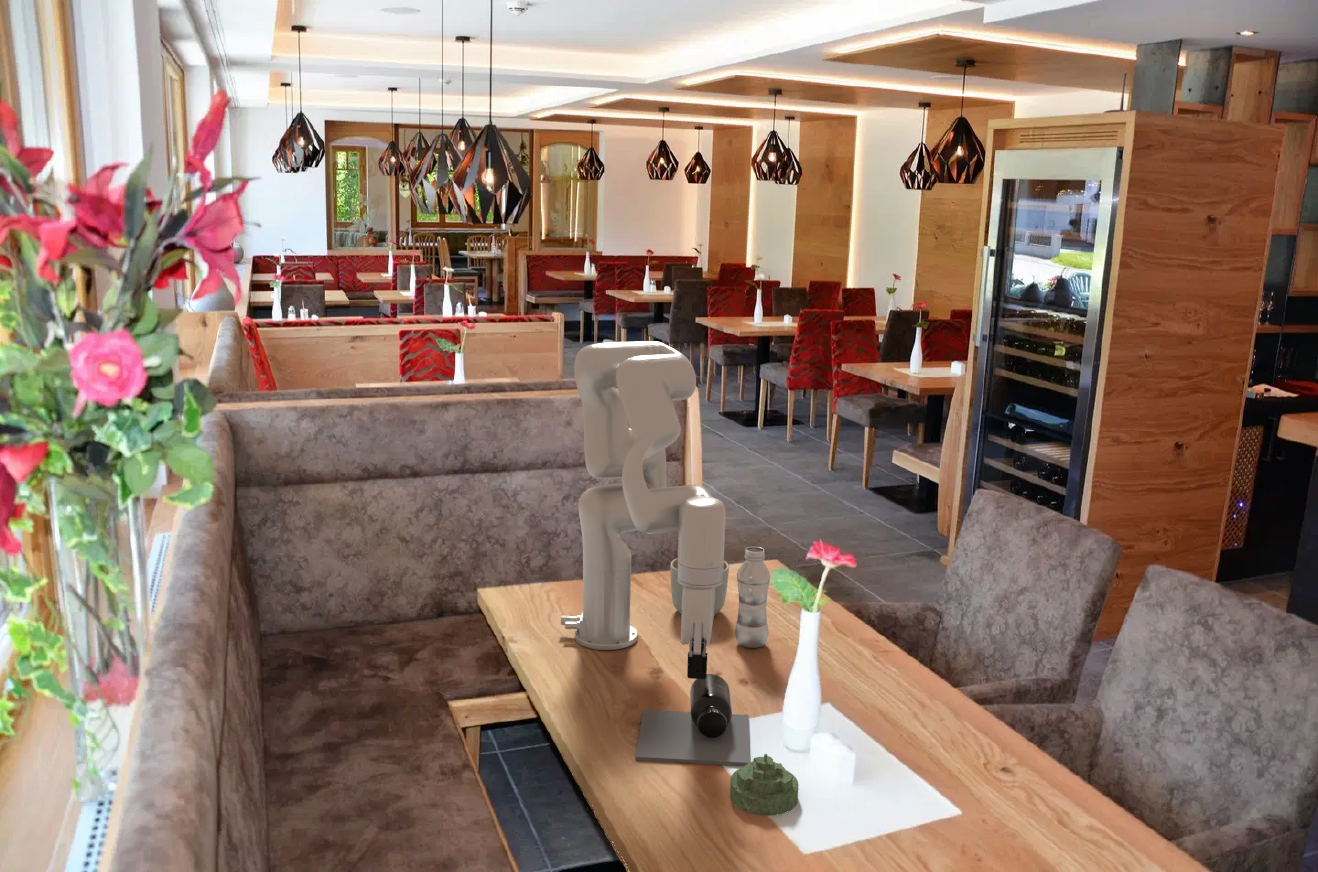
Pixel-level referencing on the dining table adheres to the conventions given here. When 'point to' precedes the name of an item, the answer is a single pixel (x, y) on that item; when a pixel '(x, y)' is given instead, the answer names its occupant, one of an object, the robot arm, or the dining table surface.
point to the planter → (678, 588)
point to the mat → (691, 740)
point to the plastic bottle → (752, 599)
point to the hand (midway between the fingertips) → (696, 676)
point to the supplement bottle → (710, 705)
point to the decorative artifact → (764, 787)
